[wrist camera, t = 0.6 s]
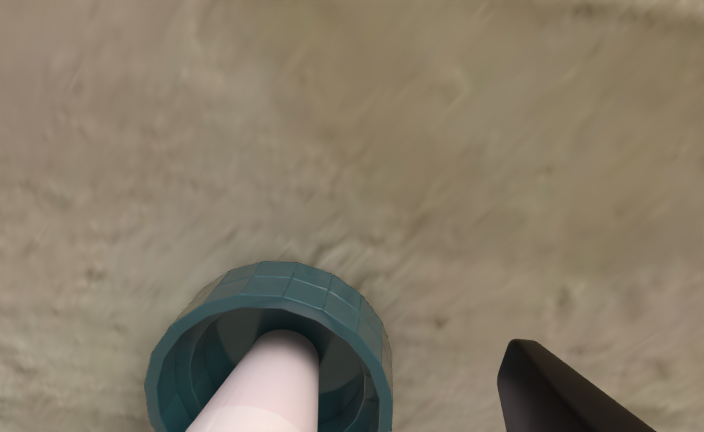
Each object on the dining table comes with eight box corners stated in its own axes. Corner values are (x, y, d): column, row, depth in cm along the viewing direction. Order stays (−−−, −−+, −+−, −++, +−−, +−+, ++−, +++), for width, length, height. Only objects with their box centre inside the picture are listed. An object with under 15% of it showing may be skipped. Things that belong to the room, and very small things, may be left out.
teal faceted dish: (434, 343, 23) (445, 394, 19) (310, 476, 26) (298, 543, 22) (255, 215, 22) (228, 243, 18) (145, 370, 25) (102, 422, 21)
